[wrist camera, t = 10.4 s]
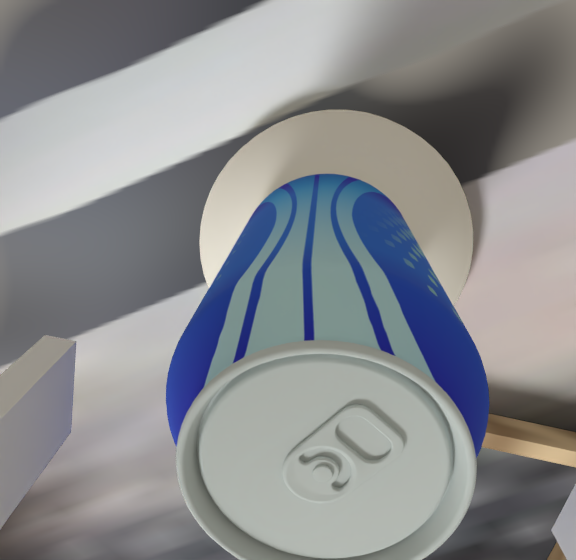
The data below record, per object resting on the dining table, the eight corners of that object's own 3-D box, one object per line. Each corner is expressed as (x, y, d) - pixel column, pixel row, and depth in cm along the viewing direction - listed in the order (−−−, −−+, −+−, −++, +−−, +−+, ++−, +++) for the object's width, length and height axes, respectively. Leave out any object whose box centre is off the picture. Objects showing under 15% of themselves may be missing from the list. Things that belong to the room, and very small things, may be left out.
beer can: (412, 317, 27) (518, 608, 12) (258, 330, 28) (178, 615, 13) (404, 158, 24) (530, 282, 9) (232, 180, 25) (88, 323, 10)
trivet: (188, 333, 29) (184, 341, 28) (225, 81, 24) (221, 81, 23) (422, 384, 29) (425, 393, 28) (508, 143, 24) (515, 145, 23)
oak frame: (277, 586, 36) (274, 613, 34) (334, 379, 30) (335, 399, 28) (518, 637, 36) (528, 667, 35) (629, 444, 30) (649, 467, 28)
